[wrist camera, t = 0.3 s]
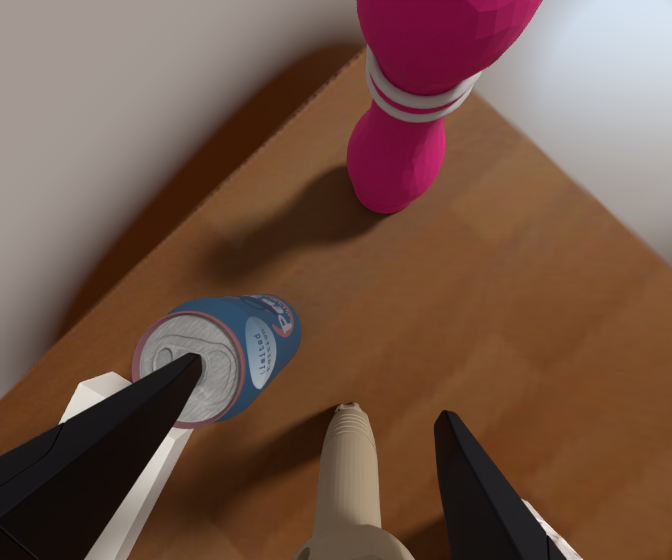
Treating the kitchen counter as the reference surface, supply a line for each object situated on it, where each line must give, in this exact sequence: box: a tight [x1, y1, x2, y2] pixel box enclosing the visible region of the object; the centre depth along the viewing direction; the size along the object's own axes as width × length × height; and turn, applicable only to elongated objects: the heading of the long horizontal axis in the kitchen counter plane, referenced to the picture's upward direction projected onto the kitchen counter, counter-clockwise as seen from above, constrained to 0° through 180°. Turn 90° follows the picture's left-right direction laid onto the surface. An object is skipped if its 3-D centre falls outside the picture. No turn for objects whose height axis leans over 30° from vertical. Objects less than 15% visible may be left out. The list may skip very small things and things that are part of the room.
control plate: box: [58, 372, 193, 560], centre depth 23 cm, size 26×10×3 cm, turn 153°
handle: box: [292, 402, 415, 560], centre depth 16 cm, size 5×6×15 cm
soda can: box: [131, 294, 301, 429], centre depth 18 cm, size 7×7×12 cm
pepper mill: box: [347, 0, 542, 214], centre depth 14 cm, size 7×7×20 cm
